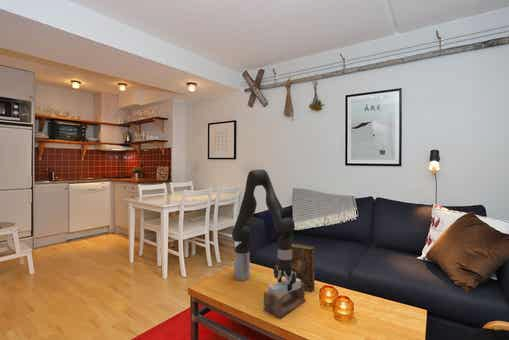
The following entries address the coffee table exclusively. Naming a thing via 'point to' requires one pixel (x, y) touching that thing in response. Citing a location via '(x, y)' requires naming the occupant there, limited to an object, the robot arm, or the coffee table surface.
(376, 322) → the coffee table surface
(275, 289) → the grey rectangular bar
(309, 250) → the book
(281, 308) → the shelf frame
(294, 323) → the coffee table surface
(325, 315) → the coffee table surface
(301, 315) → the coffee table surface
